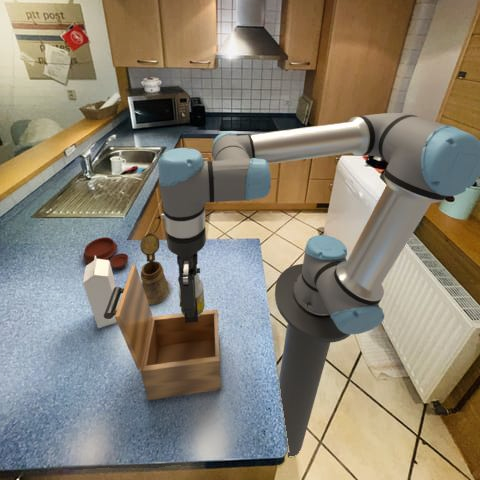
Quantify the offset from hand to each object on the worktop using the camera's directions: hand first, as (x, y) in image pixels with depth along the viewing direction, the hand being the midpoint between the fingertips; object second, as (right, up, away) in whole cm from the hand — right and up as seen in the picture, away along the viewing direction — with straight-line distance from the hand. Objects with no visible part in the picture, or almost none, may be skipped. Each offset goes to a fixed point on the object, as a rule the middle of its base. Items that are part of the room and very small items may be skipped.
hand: (192, 307), depth 58 cm
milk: (-29, -14, +19) cm, 37 cm away
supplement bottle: (0, 0, 0) cm, 1 cm away
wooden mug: (-18, -10, +28) cm, 35 cm away
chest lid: (-11, 0, -3) cm, 12 cm away
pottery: (-40, -4, +39) cm, 56 cm away
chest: (-3, -19, +7) cm, 21 cm away
